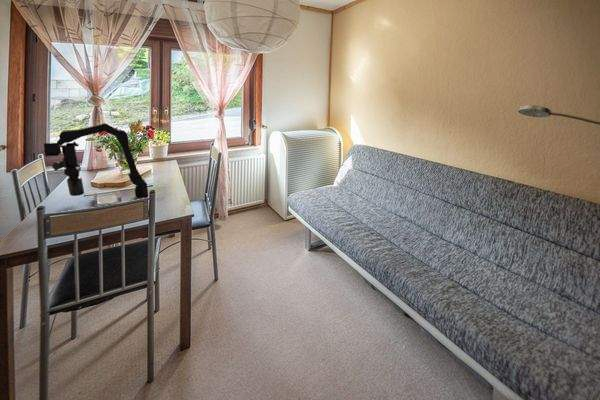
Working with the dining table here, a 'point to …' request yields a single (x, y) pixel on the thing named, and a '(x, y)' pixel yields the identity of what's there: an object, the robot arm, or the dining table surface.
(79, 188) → the supplement bottle
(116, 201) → the track
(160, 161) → the dining table surface
